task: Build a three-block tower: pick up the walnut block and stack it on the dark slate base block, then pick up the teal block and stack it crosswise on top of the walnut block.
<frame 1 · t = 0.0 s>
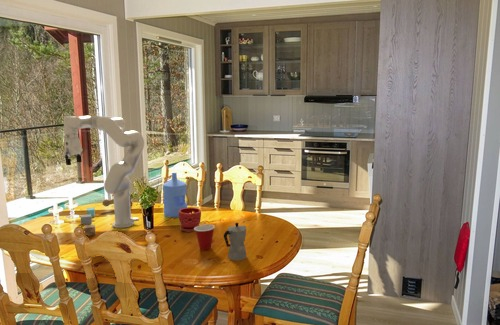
hand: (74, 163, 258), 37 cm above the table, tool pointing down, fingers open, 9 cm apart
base block: (86, 223, 260), on the table
toy helicopter: (119, 208, 291), on the table
coffeepot: (235, 258, 206), on the table
water jug: (175, 214, 277), on the table
plant pot: (190, 229, 247), on the table
walnut block: (89, 234, 240), on the table
teal block: (91, 216, 274), on the table
plastic cup: (205, 248, 218), on the table
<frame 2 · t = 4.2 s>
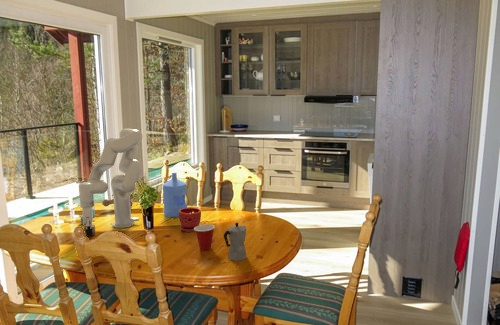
hand: (89, 233, 240), 0 cm above the table, tool pointing down, fingers closed on walnut block, 4 cm apart
walnut block: (89, 234, 240), on the table, touching gripper
everything else where it was.
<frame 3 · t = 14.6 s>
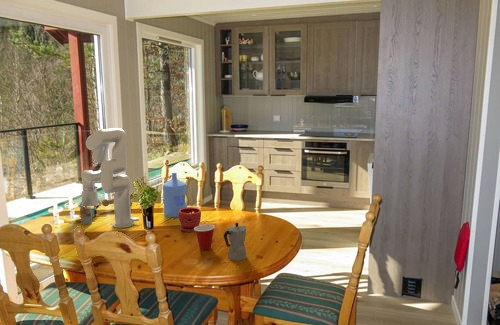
hand: (91, 215, 274), 0 cm above the table, tool pointing down, fingers closed on teal block, 4 cm apart
base block: (86, 223, 260), on the table, touching walnut block
walnut block: (85, 215, 259), point 5 cm above the table, touching base block
teal block: (91, 216, 274), on the table, touching gripper
everything else where it was.
when the fingers open (12 cm above the table, at t = 18.7 s): teal block drops 1 cm, resting on walnut block.
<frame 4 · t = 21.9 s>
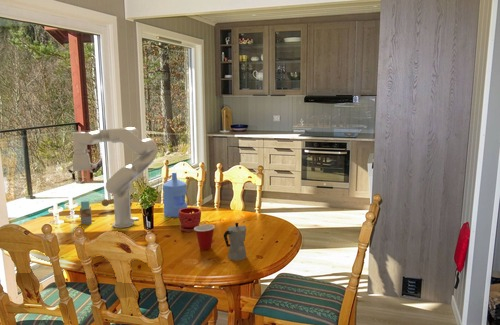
hand: (82, 179, 254), 28 cm above the table, tool pointing down, fingers open, 9 cm apart
base block: (86, 223, 260), on the table
walnut block: (86, 215, 259), point 5 cm above the table, touching teal block
teal block: (85, 208, 258), point 10 cm above the table, touching walnut block
everything else where it was.
at the end: walnut block 0.1 cm off-centre on the base block, point 5.0 cm above the base block's base; teal block 0.1 cm off-centre on the base block, point 10.0 cm above the base block's base; teal block tilted 0° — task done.
